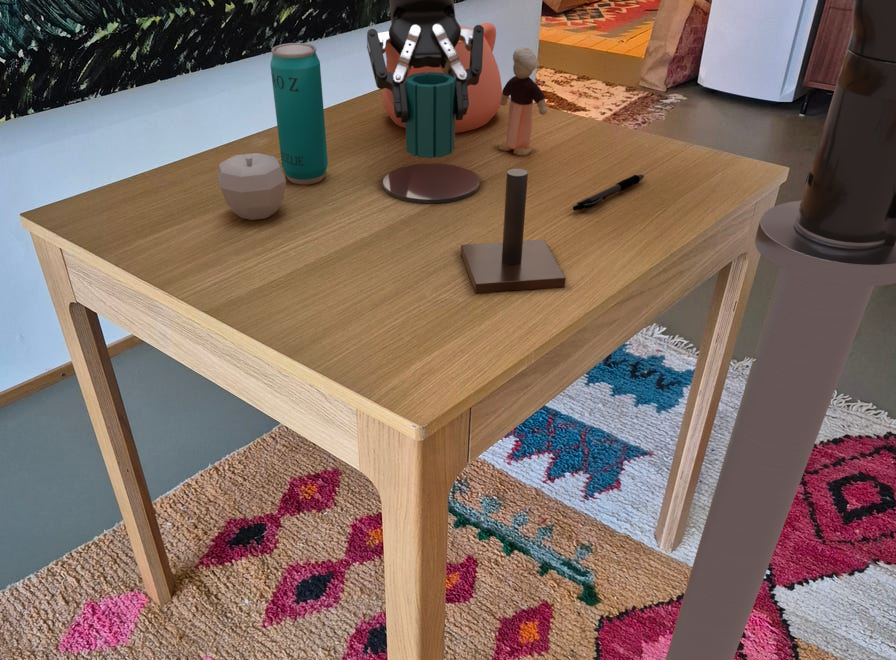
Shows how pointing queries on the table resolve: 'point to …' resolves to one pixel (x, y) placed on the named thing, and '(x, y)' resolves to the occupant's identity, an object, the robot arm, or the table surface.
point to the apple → (252, 185)
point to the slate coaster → (431, 183)
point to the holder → (512, 250)
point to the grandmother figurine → (521, 102)
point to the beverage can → (299, 112)
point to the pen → (607, 192)
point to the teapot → (479, 95)
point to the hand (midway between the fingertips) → (432, 117)
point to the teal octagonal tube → (430, 114)
